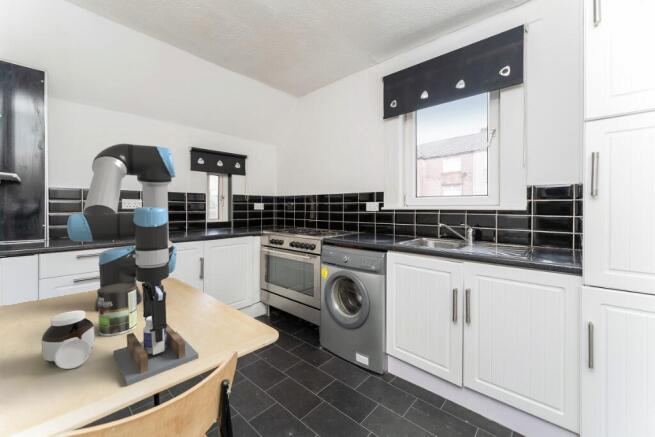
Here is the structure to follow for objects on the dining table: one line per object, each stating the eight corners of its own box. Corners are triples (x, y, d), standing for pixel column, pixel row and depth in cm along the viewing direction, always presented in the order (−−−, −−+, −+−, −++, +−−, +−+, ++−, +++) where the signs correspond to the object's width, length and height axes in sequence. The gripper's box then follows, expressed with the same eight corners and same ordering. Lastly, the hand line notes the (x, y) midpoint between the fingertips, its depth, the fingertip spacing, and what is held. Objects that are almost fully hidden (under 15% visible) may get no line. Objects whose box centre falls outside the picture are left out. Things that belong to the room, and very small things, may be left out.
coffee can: (112, 338, 85) (110, 294, 84) (91, 333, 88) (89, 290, 87) (145, 324, 94) (143, 284, 93) (124, 320, 98) (123, 281, 97)
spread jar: (76, 346, 80) (74, 307, 79) (111, 349, 79) (110, 309, 78) (27, 372, 68) (24, 326, 67) (68, 375, 67) (65, 329, 66)
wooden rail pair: (127, 348, 77) (126, 334, 77) (166, 335, 84) (166, 323, 84) (140, 373, 66) (140, 357, 66) (185, 356, 73) (184, 342, 73)
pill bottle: (155, 355, 72) (154, 322, 71) (139, 353, 73) (137, 320, 72) (171, 345, 77) (170, 314, 77) (155, 343, 78) (154, 312, 78)
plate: (113, 355, 76) (113, 350, 76) (176, 335, 87) (176, 331, 87) (126, 386, 63) (126, 381, 63) (198, 358, 75) (198, 353, 75)
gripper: (128, 261, 77) (131, 340, 79) (144, 273, 65) (148, 368, 66) (158, 257, 83) (161, 332, 84) (179, 268, 70) (181, 356, 71)
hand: (155, 347), depth 75 cm, fingers closed on pill bottle, 5 cm apart
